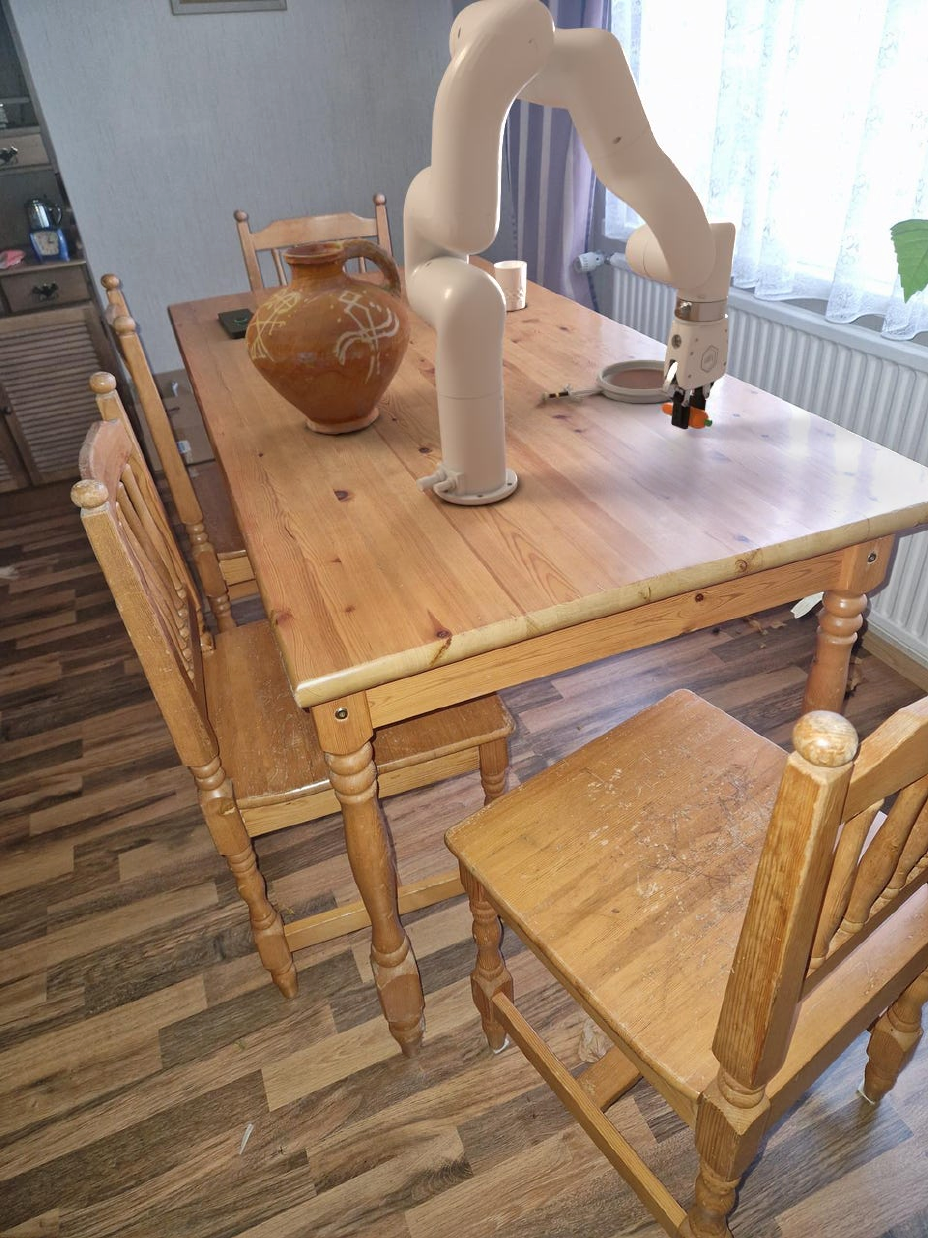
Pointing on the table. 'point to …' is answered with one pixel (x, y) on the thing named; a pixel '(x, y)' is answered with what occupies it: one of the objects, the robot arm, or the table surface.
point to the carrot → (692, 416)
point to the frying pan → (625, 383)
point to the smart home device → (236, 322)
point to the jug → (332, 335)
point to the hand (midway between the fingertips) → (687, 422)
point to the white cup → (512, 283)
